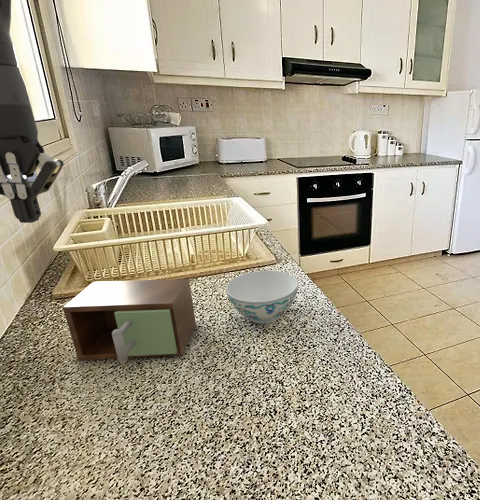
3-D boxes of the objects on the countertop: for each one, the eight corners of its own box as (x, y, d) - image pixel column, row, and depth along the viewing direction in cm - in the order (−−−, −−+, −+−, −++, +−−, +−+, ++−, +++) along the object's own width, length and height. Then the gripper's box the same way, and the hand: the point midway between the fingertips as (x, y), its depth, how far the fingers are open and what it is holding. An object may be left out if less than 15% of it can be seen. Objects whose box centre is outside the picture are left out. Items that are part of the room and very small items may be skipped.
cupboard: (78, 360, 68) (62, 307, 64) (105, 329, 77) (93, 281, 73) (181, 355, 69) (172, 303, 66) (196, 325, 79) (189, 278, 75)
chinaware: (218, 313, 84) (214, 282, 81) (276, 293, 93) (274, 265, 90) (250, 343, 73) (247, 309, 70) (312, 317, 82) (311, 286, 80)
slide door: (111, 374, 63) (99, 328, 60) (126, 354, 68) (115, 311, 65) (167, 371, 64) (158, 326, 61) (177, 351, 69) (169, 309, 66)
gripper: (63, 103, 56) (88, 215, 62) (-35, 99, 54) (1, 214, 60) (28, 102, 49) (61, 228, 55) (-85, 98, 47) (-39, 228, 54)
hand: (29, 221), depth 58 cm, fingers closed
